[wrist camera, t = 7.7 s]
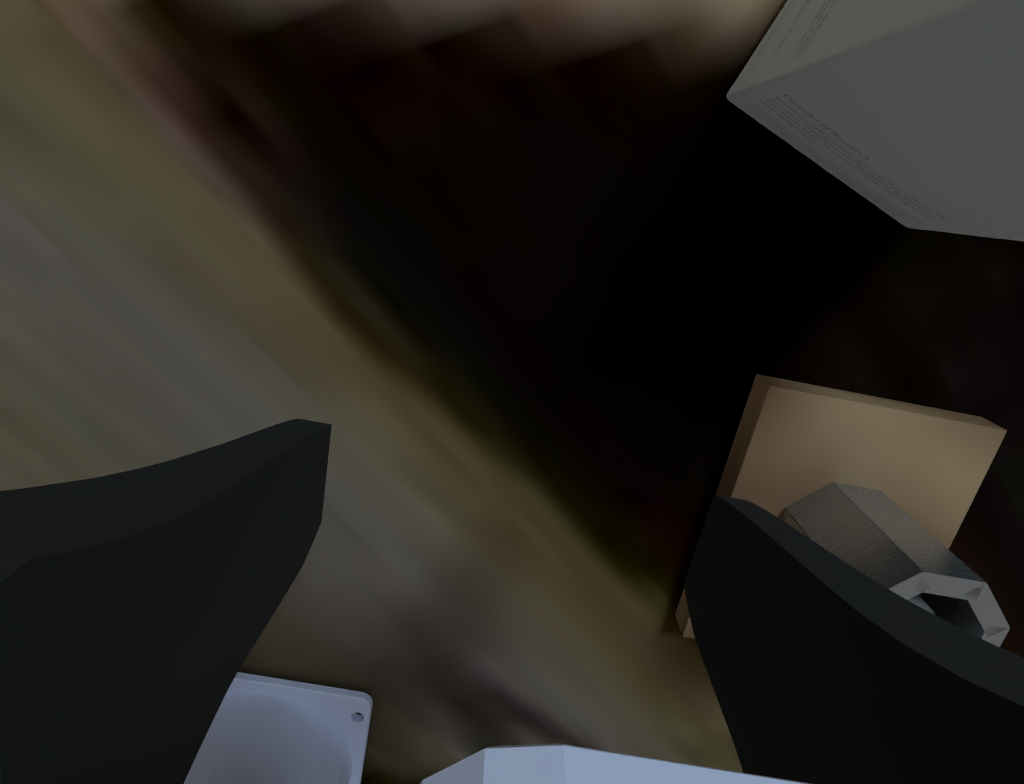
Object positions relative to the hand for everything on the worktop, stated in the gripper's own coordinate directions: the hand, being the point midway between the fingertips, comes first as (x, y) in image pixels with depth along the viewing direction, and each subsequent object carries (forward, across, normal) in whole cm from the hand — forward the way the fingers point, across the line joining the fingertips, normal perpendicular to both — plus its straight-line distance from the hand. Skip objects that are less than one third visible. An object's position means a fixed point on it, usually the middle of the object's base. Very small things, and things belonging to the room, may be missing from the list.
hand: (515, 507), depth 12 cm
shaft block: (+10, -12, +4) cm, 16 cm away
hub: (+9, -12, +4) cm, 15 cm away
